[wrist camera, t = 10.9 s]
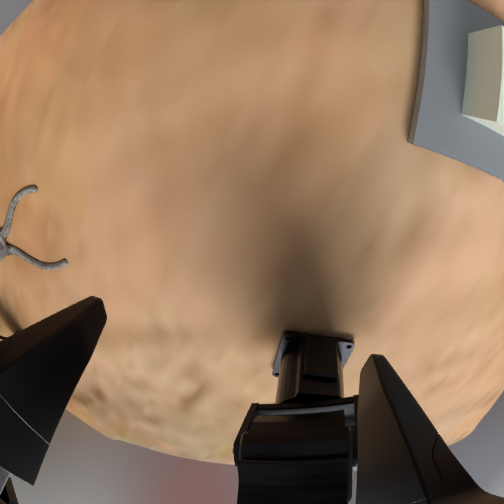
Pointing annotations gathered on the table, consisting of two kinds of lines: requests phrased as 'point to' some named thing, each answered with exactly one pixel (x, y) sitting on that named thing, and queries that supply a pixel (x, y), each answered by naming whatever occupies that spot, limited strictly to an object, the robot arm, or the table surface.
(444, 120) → the post stand
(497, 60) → the hollow square sleeve
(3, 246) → the pliers
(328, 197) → the table surface
